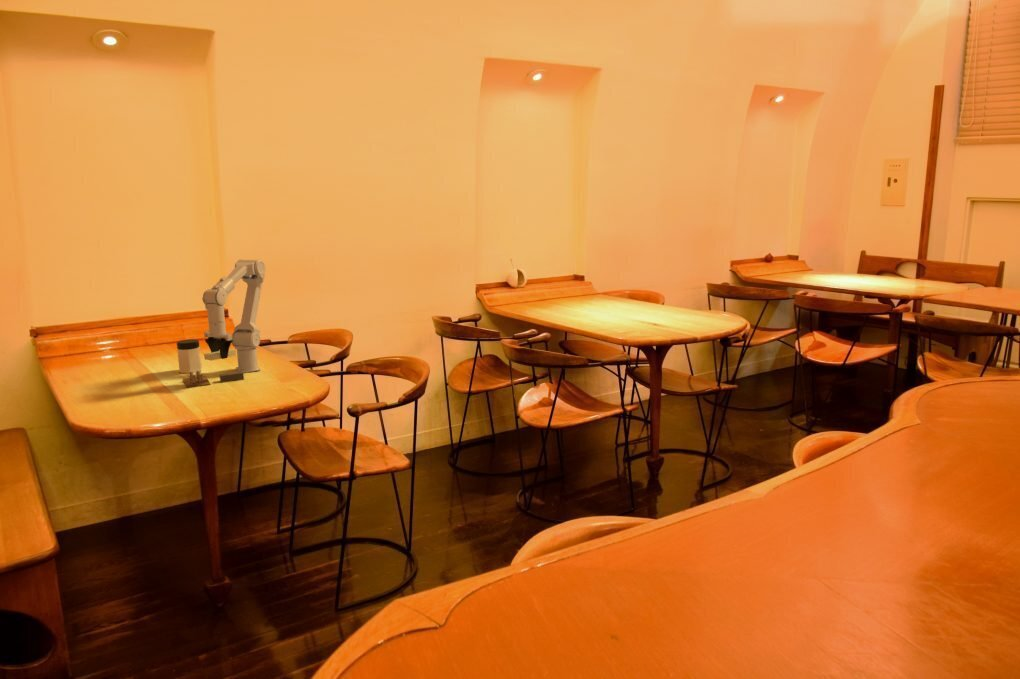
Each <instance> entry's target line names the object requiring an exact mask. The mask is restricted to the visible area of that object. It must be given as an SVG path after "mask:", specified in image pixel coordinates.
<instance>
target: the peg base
mask: <svg viewBox="0 0 1020 679" xmlns="http://www.w3.org/2000/svg"><path fill="white" fill-rule="evenodd" d="M195 373H196V375H195ZM188 374H189V377H187V378H185V377H184V378H182V380H183V382H184V385H185V386H186V389H187V388H188V389H189V388H198V387H204V386H205V387H206V386H211V383H210V381H209V379H208V377H207V376H206V375H203V374H202V373H201V371H196V372H189V373H188Z"/></svg>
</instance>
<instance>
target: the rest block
mask: <svg viewBox="0 0 1020 679" xmlns="http://www.w3.org/2000/svg"><path fill="white" fill-rule="evenodd" d="M244 376H245V375H244V373H243V372H238V371H234V372H228V373H220V374H219V380H220V383H227V382H235V381H237V382H238V381H242V380H243V381H244V380H245V378H244Z"/></svg>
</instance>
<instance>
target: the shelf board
mask: <svg viewBox="0 0 1020 679" xmlns="http://www.w3.org/2000/svg"><path fill="white" fill-rule="evenodd" d="M203 355H204V360H206V361H216V360H220V359H222V358H221V355H220V350H219V351H217V352H212V353H211V352H208V353H204V354H203ZM236 356H237V352H236V349H230V348H229V351H228V357H227V358H229V357H236Z"/></svg>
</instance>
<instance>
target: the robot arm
mask: <svg viewBox="0 0 1020 679" xmlns="http://www.w3.org/2000/svg"><path fill="white" fill-rule="evenodd" d="M266 271H267V268H266V266H265V262H264V261H263V260H262V259H238V260H237V262H235V263H234V268H233V270H232V271H231V272H230V273H229V274H228V276H226V277H220V278H219V280H218V282H216V284H215V285H214V284H213V286H212V288H209V289H207V290H205V291H204V292H203V295H202V298H201V299H202V303H203V304H204V306H205V309H206V310H207V321H208V322H207V323H208V330H209V331H208V330H207V331H203V334H204V336H203V337H204V338H205V339H204V342H205V344H206V345H207V346H208V347H209V350H210V353H212V352H217V351H220V355H221V359H222V360H225V359H228V358H229V357H228V351H229V349H230V347H231V345H232V346H233V347H234V350H236V356H237V357H236V358H237V367H235V369H236V372H243V374H244V373H252V372H260V371H261V369H260V368H259V366H258V354H257V353H258V352H257V348H258V347H259V346H260V343H261V330H260V329H259V328H258V326H256V321H257V315H258V310H259V309H258V308H259V305H260V304H259V303H260V298H261V293H262V287H263V282H265V276H266ZM240 280H242V282H244V283H245V284H247V288H246V293H245V298H244V304H243V309H242V316H241V319H240V323H238V324H237V325H236V326H235V327H234V328H233V332H232V333H229V332H227V328H226V318H225V307H224V306H225V305H224V304H226V302H227V299H228V296H229V295H230V293H231V292H232V291H233V290H234V289H235V284H236V283H238V282H239V281H240Z"/></svg>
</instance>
